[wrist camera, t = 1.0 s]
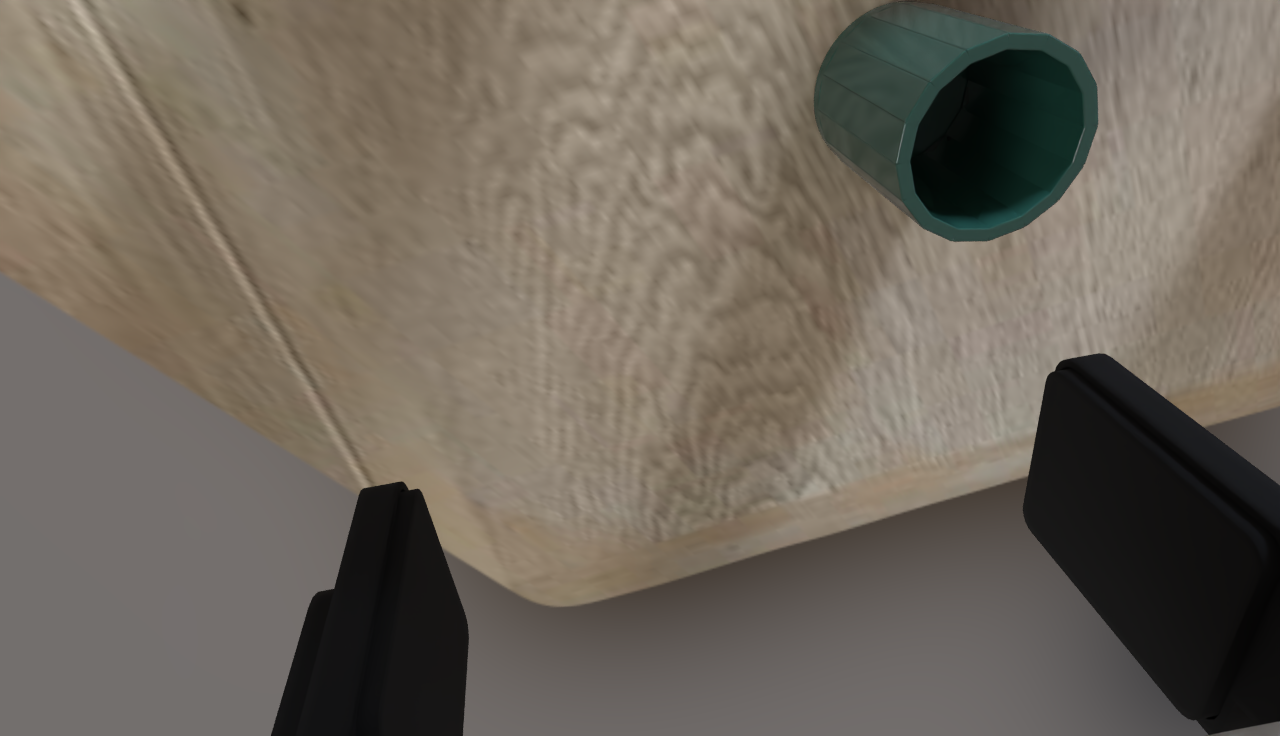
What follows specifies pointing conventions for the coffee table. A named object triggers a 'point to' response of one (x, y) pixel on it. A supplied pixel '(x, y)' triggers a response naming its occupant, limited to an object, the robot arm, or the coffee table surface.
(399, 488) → the robot arm
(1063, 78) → the pot
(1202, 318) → the coffee table surface
